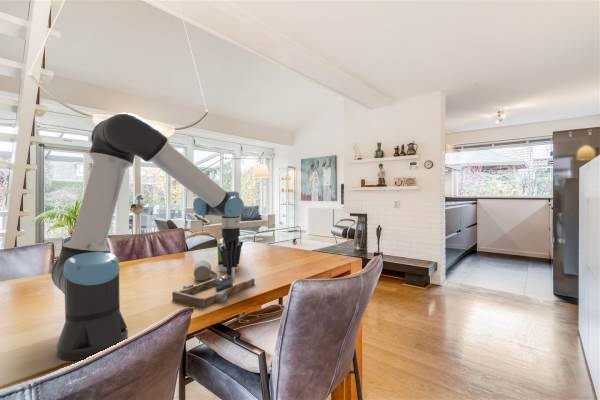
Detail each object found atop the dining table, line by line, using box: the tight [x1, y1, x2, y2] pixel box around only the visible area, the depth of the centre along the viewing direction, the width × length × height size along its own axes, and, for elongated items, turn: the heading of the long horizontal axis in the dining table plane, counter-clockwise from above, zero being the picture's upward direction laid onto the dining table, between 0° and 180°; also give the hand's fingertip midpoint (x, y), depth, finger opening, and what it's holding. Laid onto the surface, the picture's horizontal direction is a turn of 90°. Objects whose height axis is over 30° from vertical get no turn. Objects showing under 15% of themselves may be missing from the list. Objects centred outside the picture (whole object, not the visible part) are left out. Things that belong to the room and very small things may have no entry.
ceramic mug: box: [193, 260, 219, 282], centre depth 135 cm, size 11×8×8 cm
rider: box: [215, 275, 234, 292], centre depth 121 cm, size 7×7×5 cm
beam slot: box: [171, 273, 255, 309], centre depth 117 cm, size 29×20×3 cm
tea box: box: [216, 238, 239, 272], centre depth 155 cm, size 15×10×15 cm, turn 17°
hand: (231, 282), depth 124 cm, fingers closed
